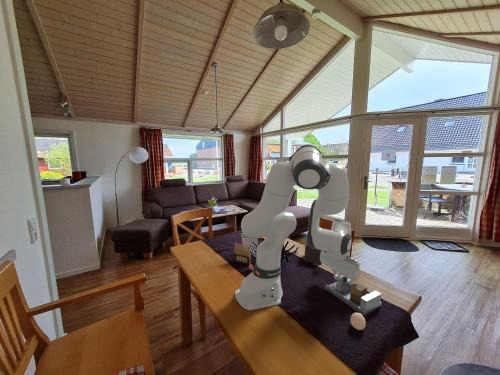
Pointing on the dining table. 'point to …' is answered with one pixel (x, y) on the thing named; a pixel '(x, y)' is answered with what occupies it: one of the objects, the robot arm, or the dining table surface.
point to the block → (358, 292)
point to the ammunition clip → (242, 254)
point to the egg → (358, 321)
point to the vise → (365, 306)
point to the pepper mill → (312, 255)
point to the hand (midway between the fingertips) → (337, 279)
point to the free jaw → (344, 285)
